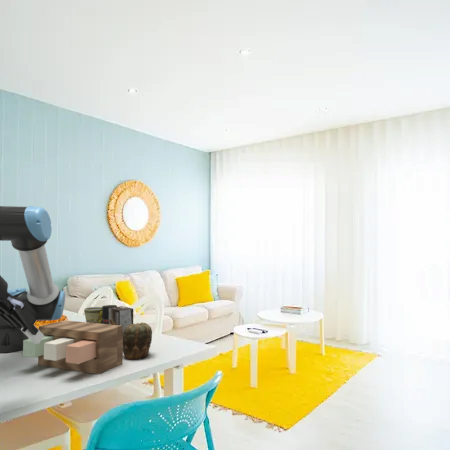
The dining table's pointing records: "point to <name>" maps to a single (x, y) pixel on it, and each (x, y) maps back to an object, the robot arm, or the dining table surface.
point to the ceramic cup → (93, 314)
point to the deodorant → (106, 313)
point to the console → (103, 333)
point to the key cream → (57, 348)
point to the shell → (137, 341)
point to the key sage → (35, 346)
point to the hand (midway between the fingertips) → (39, 339)
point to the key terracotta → (81, 351)
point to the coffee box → (121, 316)
